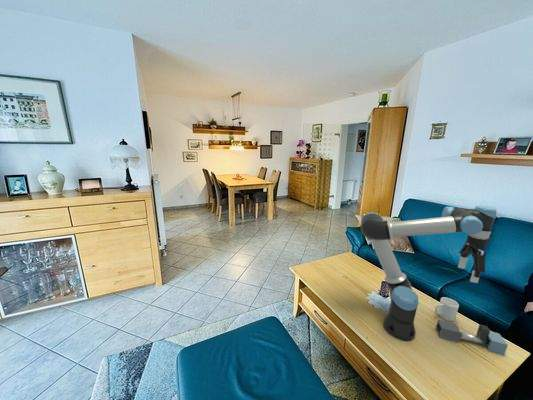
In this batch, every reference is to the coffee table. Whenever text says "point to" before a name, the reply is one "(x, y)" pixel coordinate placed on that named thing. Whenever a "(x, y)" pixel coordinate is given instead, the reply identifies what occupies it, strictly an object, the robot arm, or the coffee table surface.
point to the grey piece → (478, 335)
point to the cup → (447, 309)
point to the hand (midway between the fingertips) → (467, 274)
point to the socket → (496, 343)
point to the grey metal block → (448, 331)
